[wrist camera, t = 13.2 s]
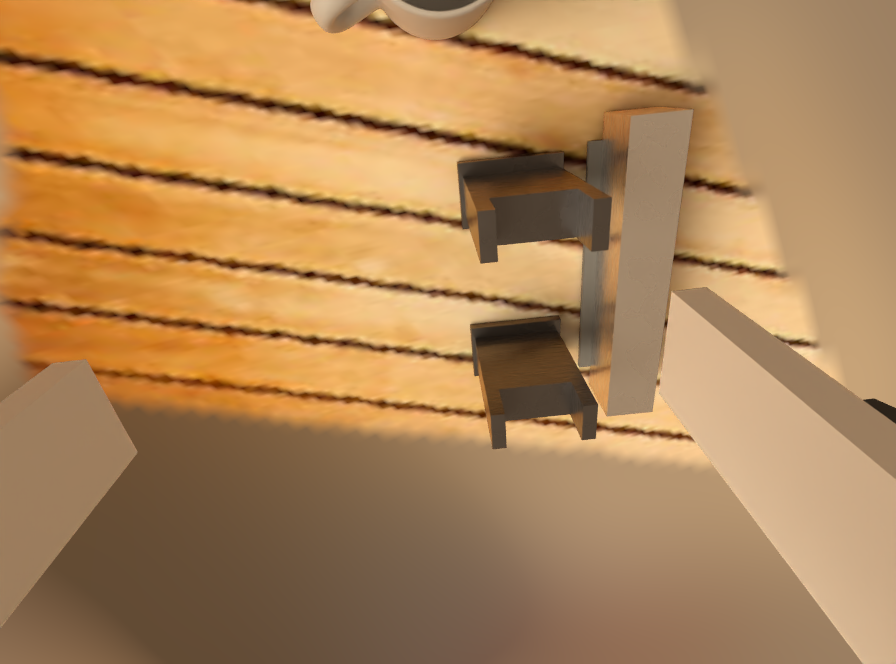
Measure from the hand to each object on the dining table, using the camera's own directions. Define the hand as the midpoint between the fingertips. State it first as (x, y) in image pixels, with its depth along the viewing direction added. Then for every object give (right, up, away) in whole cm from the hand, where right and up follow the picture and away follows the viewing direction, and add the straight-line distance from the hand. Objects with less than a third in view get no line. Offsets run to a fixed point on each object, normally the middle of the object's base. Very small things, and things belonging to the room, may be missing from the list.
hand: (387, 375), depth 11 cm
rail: (+16, +7, +29) cm, 34 cm away
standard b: (+8, 0, +32) cm, 33 cm away
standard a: (+6, +12, +26) cm, 29 cm away
